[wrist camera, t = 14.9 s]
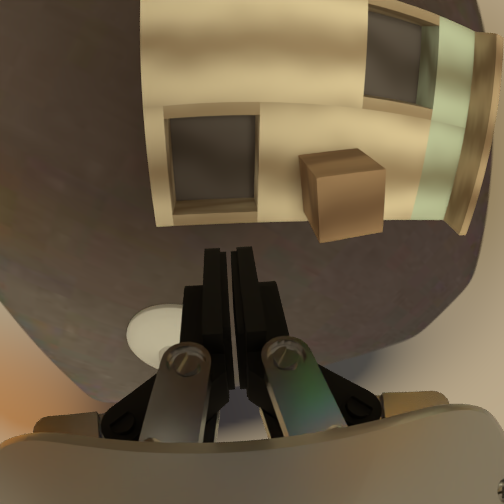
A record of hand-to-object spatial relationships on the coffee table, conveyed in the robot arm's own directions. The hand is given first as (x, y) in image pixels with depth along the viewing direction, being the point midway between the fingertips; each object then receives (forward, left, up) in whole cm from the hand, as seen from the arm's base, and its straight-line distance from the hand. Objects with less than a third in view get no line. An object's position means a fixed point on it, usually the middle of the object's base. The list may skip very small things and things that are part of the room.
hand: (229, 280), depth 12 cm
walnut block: (+2, +9, -14) cm, 17 cm away
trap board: (-5, +9, -17) cm, 20 cm away
